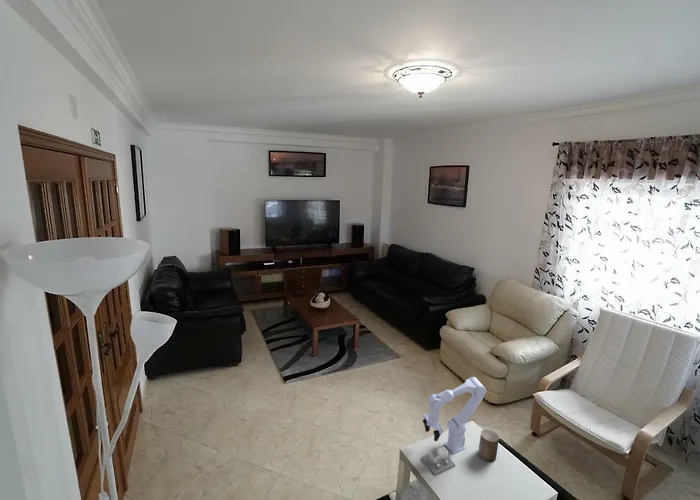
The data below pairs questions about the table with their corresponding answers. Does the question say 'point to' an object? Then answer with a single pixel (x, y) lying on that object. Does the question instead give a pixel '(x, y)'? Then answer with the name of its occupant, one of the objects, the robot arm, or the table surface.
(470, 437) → the table surface
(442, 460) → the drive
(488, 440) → the pillar candle
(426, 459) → the pin tray
